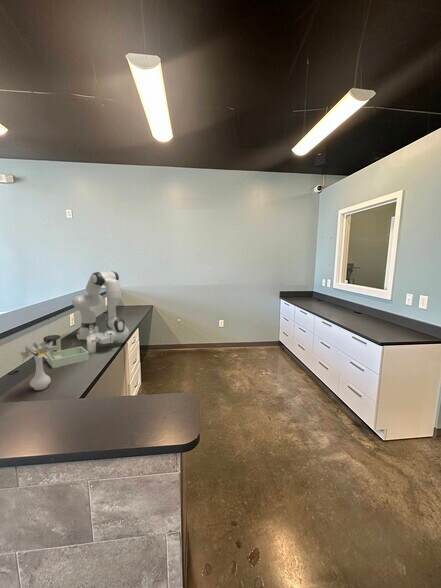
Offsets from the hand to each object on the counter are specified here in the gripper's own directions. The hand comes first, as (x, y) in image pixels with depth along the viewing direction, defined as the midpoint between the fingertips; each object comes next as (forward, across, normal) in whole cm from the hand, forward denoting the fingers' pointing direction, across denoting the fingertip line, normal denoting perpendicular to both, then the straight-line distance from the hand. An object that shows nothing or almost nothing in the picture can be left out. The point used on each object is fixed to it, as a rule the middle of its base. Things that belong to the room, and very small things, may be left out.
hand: (89, 340), depth 189 cm
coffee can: (+22, -10, +10) cm, 26 cm away
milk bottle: (-1, 0, +10) cm, 10 cm away
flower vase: (+38, +37, +10) cm, 54 cm away
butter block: (+23, +8, +9) cm, 26 cm away
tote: (+17, +8, +10) cm, 21 cm away
